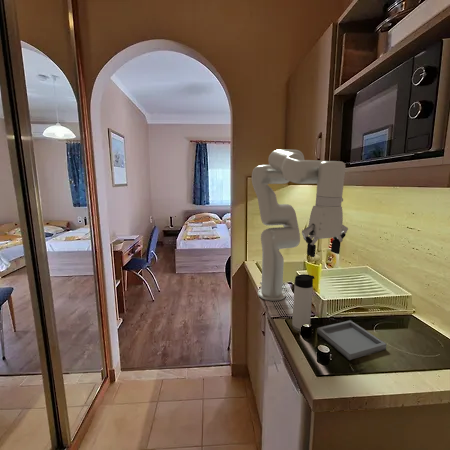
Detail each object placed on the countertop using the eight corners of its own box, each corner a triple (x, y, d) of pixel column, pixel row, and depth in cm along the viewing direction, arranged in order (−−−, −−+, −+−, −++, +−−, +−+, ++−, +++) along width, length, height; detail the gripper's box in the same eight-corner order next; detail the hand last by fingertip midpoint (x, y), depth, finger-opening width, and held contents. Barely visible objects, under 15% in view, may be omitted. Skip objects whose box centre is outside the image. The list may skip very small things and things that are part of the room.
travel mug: (311, 333, 96) (315, 280, 93) (292, 330, 98) (295, 278, 94) (309, 323, 102) (313, 273, 99) (291, 321, 104) (294, 271, 100)
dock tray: (316, 333, 96) (317, 327, 96) (350, 325, 102) (350, 320, 101) (349, 360, 83) (350, 354, 82) (385, 349, 88) (386, 343, 87)
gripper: (341, 199, 91) (335, 248, 95) (297, 201, 85) (293, 253, 89) (359, 202, 84) (352, 255, 88) (313, 204, 78) (308, 261, 82)
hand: (323, 254), depth 88 cm, fingers open, 9 cm apart
